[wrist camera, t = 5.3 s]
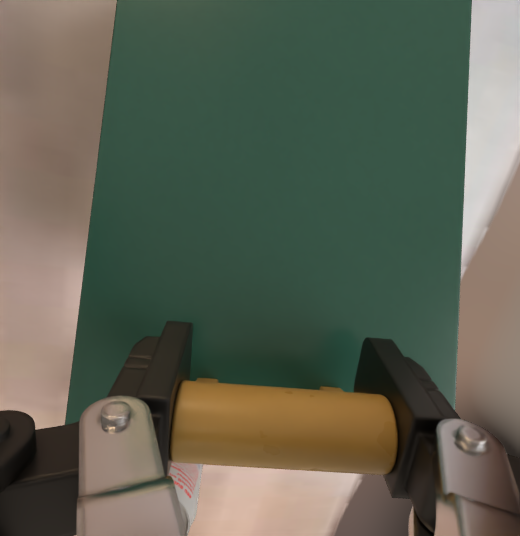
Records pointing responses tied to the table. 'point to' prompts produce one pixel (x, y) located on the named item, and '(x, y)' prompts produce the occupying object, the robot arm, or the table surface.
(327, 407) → the lid
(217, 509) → the table surface
